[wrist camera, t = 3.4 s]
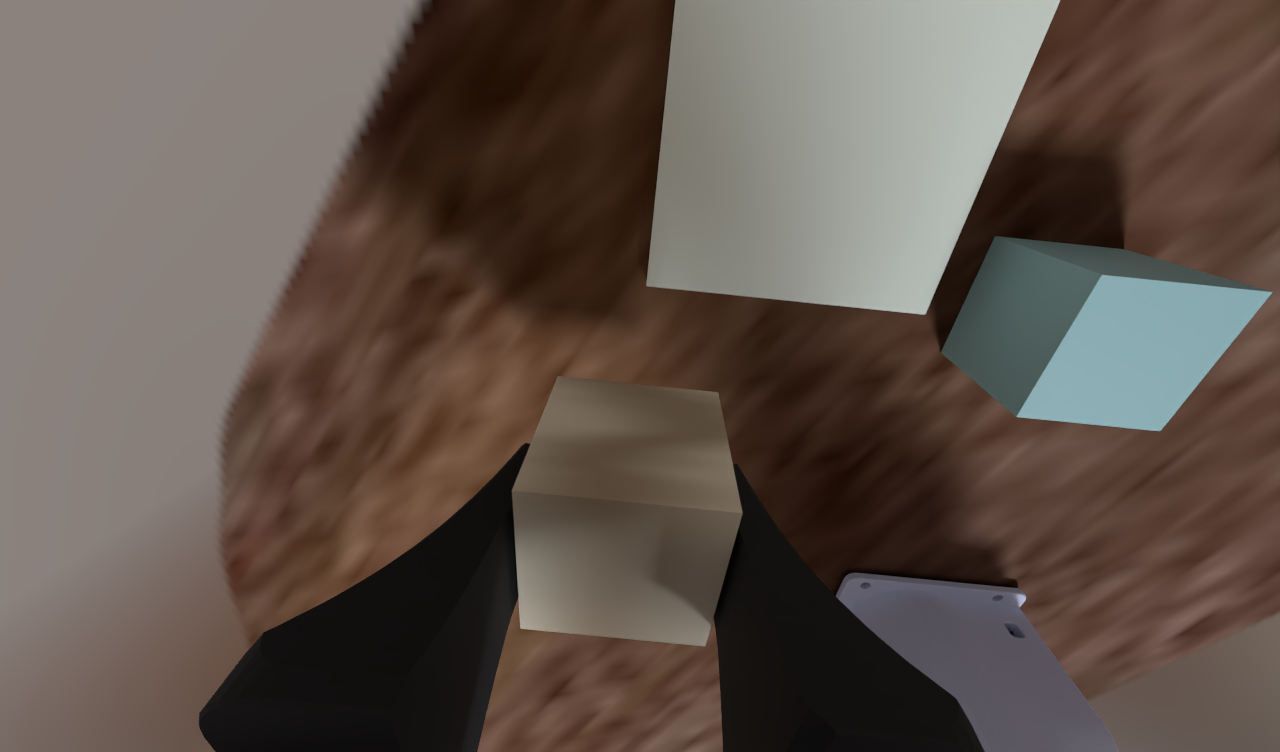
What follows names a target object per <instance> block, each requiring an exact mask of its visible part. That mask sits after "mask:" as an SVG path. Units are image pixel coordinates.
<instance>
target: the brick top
mask: <svg viewBox="0 0 1280 752" xmlns="http://www.w3.org/2000/svg"><path fill="white" fill-rule="evenodd" d="M1271 294H1272V292H1270V291H1267V290H1263V289H1260V288H1256V287H1253V286H1250V285H1246V284H1243V283H1239V282H1236V281H1232V280H1229V279H1225V278H1222V277H1218V276H1215V275H1211V274H1208V273H1205V272H1201V271H1198V270H1194V269H1191V268H1187V267H1184V266H1180V265H1177V264H1173V263H1170V262H1166V261H1163V260H1160V259H1156V258H1153V257H1149V256H1146V255H1142V254H1139V253H1135V252H1132V251H1128V250H1125V249H1117V248H1107V247H1097V246H1087V245H1077V244H1068V243H1058V242H1048V241H1038V240H1028V239H1019V238H1009V237H999V236H995V237H994V239H993V242H992V244H991V246H990V248H989V250H988V252H987V254H986V257H985V259H984V261H983V263H982V265H981V267H980V269H979V272H978V274H977V276H976V278H975V280H974V282H973V284H972V287H971V289H970V291H969V293H968V295H967V297H966V300H965V302H964V304H963V306H962V308H961V310H960V312H959V315H958V317H957V319H956V321H955V323H954V325H953V327H952V330H951V332H950V334H949V336H948V338H947V340H946V342H945V345H944V347H943V349H942V351H941V353H942V354H943V355H944V356H945V357H946V358H948V359H949V360H950V361H951V362H952V363H954V364H955V365H956V366H957V367H958V368H959V369H961V370H962V371H963V372H964V373H965V374H966V375H968V376H969V377H970V378H971V379H972V380H974V381H975V382H976V383H977V384H978V385H979V386H981V387H982V388H983V389H984V390H985V391H986V392H988V393H989V394H990V395H991V396H992V397H994V398H995V399H996V400H997V401H998V402H999V403H1001V404H1002V405H1003V406H1004V407H1005V408H1006V409H1008V410H1009V411H1010V412H1011V413H1012V414H1013V415H1015V416H1016V417H1022V418H1032V419H1042V420H1053V421H1063V422H1073V423H1083V424H1093V425H1103V426H1113V427H1123V428H1133V429H1143V430H1153V431H1161V430H1162V429H1163V427H1164V426H1165V425H1166V424H1167V422H1168V421H1169V420H1170V419H1171V417H1172V416H1173V415H1174V414H1175V412H1176V411H1177V410H1178V409H1179V407H1180V406H1181V405H1182V404H1183V403H1184V401H1185V400H1186V399H1187V398H1188V396H1189V395H1190V394H1191V393H1192V391H1193V390H1194V389H1195V388H1196V386H1197V385H1198V384H1199V383H1200V381H1201V380H1202V379H1203V378H1204V376H1205V375H1206V374H1207V373H1208V372H1209V370H1210V369H1211V368H1212V367H1213V365H1214V364H1215V363H1216V362H1217V360H1218V359H1219V358H1220V357H1221V355H1222V354H1223V353H1224V352H1225V350H1226V349H1227V348H1228V347H1229V346H1230V344H1231V343H1232V342H1233V341H1234V339H1235V338H1236V337H1237V336H1238V334H1239V333H1240V332H1241V331H1242V329H1243V328H1244V327H1245V326H1246V324H1247V323H1248V322H1249V321H1250V320H1251V318H1252V317H1253V316H1254V315H1255V313H1256V312H1257V311H1258V310H1259V308H1260V307H1261V306H1262V305H1263V303H1264V302H1265V301H1266V300H1267V298H1268V297H1269V296H1270V295H1271Z"/></svg>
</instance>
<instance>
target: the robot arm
mask: <svg viewBox="0 0 1280 752" xmlns="http://www.w3.org/2000/svg"><path fill="white" fill-rule="evenodd" d="M529 447H530V444H528V443H525V444H524V445H522V446H521V447H520V448H519V450H518V451H517V452H516V453H515V454H514V455H513V456H512V458H511V459H510V460H509V461H508V462H507V463H506V464H505V465H504V466H503V467H502V469H501V470H500V471H499V472H498V473H497V474H496V475H495V476H494V477H493V478H492V479H491V480H490V481H489V482H488V483H487V484H486V485H485V486H484V487H483V488H482V489H481V490H480V491H479V492H478V493H477V494H476V495H475V496H474V497H473V498H472V499H471V500H469V501H468V502H467V503H466V504H465V505H464V506H463V507H462V508H461V509H459V510H458V511H457V512H456V513H455V514H454V515H453V516H452V517H451V518H449V519H448V520H447V521H446V522H445V523H443V524H442V525H441V526H440V527H439V528H437V529H436V530H435V531H434V532H432V533H431V534H430V535H428V536H427V537H426V538H424V539H423V540H422V541H421V542H419V543H418V544H417V545H415V546H414V547H412V548H411V549H410V550H408V551H407V552H405V553H404V554H402V555H401V556H400V557H398V558H397V559H395V560H394V561H392V562H391V563H389V564H388V565H386V566H385V567H383V568H382V569H380V570H379V571H377V572H376V573H374V574H372V575H371V576H369V577H367V578H366V579H364V580H362V581H361V582H359V583H357V584H356V585H354V586H352V587H351V588H349V589H347V590H346V591H344V592H342V593H340V594H339V595H337V596H335V597H333V598H331V599H330V600H328V601H326V602H324V603H322V604H320V605H318V606H316V607H314V608H312V609H310V610H308V611H306V612H304V613H302V614H301V615H299V616H297V617H295V618H293V619H291V620H289V621H287V622H285V623H283V624H281V625H279V626H277V627H275V628H272V629H270V630H268V631H266V632H264V633H263V634H262V635H261V637H260V638H259V639H258V640H257V641H256V642H255V643H254V645H253V646H252V647H251V648H250V649H249V650H248V651H247V652H246V653H245V655H244V656H243V657H242V659H241V660H240V661H239V662H238V664H237V665H236V666H235V668H234V669H233V670H232V672H231V673H230V674H229V676H228V677H227V678H226V679H225V681H224V682H223V683H222V685H221V686H220V687H219V688H218V690H217V691H216V692H215V694H214V695H213V696H212V698H211V699H210V700H209V702H208V703H207V704H206V705H205V707H204V708H203V709H202V711H201V712H200V714H199V727H200V730H201V732H202V733H203V735H204V737H205V739H206V740H207V741H208V743H209V744H210V745H211V746H212V748H213V749H214V750H215V751H216V752H477V750H478V746H479V741H480V737H481V733H482V729H483V724H484V720H485V716H486V712H487V708H488V703H489V699H490V695H491V691H492V687H493V683H494V679H495V675H496V671H497V667H498V663H499V659H500V655H501V652H502V648H503V644H504V640H505V636H506V632H507V629H508V626H509V622H510V619H511V616H512V613H513V610H514V607H515V604H516V602H517V599H518V581H517V565H516V549H515V533H514V517H513V501H512V489H513V486H514V484H515V481H516V479H517V476H518V474H519V471H520V469H521V467H522V464H523V462H524V459H525V457H526V454H527V452H528V449H529ZM733 468H734V473H735V478H736V483H737V488H738V493H739V498H740V503H741V508H742V513H743V514H742V517H741V521H740V524H739V528H738V531H737V535H736V539H735V542H734V546H733V549H732V553H731V556H730V560H729V564H728V567H727V571H726V574H725V578H724V581H723V585H722V589H721V592H720V596H719V599H718V603H717V606H716V610H715V613H714V622H715V629H716V636H717V645H718V657H719V674H720V691H721V711H722V732H723V752H1119V750H1118V748H1117V746H1116V744H1115V742H1114V740H1113V738H1112V736H1111V735H1110V733H1109V732H1108V730H1107V728H1106V727H1105V725H1104V724H1103V722H1102V721H1101V719H1100V718H1099V717H1098V715H1097V714H1096V712H1095V711H1094V710H1093V708H1092V707H1091V706H1090V704H1089V703H1088V701H1087V700H1086V699H1085V697H1084V696H1083V695H1082V693H1081V692H1080V690H1079V689H1078V688H1077V686H1076V685H1075V684H1074V682H1073V681H1072V679H1071V678H1070V677H1069V675H1068V674H1067V673H1066V671H1065V670H1064V668H1063V667H1062V666H1061V664H1060V663H1059V662H1058V660H1057V659H1056V657H1055V656H1054V655H1053V653H1052V652H1051V651H1050V649H1049V648H1048V646H1047V645H1046V644H1045V642H1044V641H1043V640H1042V638H1041V637H1040V635H1039V634H1038V633H1037V631H1036V630H1035V629H1034V627H1033V626H1032V624H1031V623H1030V622H1029V620H1028V619H1027V618H1026V616H1025V615H1024V613H1023V612H1022V611H1021V609H1020V606H1021V605H1022V604H1023V603H1024V602H1025V600H1026V595H1025V594H1024V593H1023V591H1022V590H1020V589H1018V588H1010V587H1000V586H990V585H979V584H969V583H958V582H948V581H938V580H927V579H917V578H906V577H896V576H886V575H875V574H865V573H850V574H848V575H846V577H845V578H844V580H843V582H842V584H841V586H840V588H839V590H838V592H837V594H836V596H835V595H834V594H833V593H832V592H831V591H830V590H829V589H828V588H827V587H826V586H825V585H824V584H823V583H822V581H821V580H820V579H819V578H818V577H817V576H816V575H815V574H814V573H813V571H812V570H811V569H810V568H809V567H808V566H807V564H806V563H805V562H804V561H803V560H802V558H801V557H800V556H799V555H798V553H797V552H796V551H795V549H794V548H793V547H792V546H791V544H790V543H789V542H788V540H787V539H786V538H785V536H784V535H783V534H782V532H781V531H780V530H779V528H778V527H777V525H776V524H775V523H774V521H773V520H772V518H771V517H770V515H769V514H768V512H767V511H766V510H765V508H764V507H763V505H762V503H761V502H760V500H759V499H758V497H757V496H756V494H755V492H754V491H753V489H752V488H751V486H750V484H749V483H748V481H747V479H746V478H745V476H744V474H743V473H742V471H741V469H740V468H739V467H738V465H737V464H733Z"/></svg>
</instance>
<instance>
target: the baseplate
mask: <svg viewBox="0 0 1280 752" xmlns="http://www.w3.org/2000/svg"><path fill="white" fill-rule="evenodd" d="M1059 2H1060V0H675V9H674V18H673V28H672V38H671V48H670V58H669V67H668V77H667V87H666V97H665V107H664V116H663V126H662V136H661V146H660V155H659V165H658V175H657V185H656V195H655V204H654V214H653V224H652V234H651V243H650V253H649V263H648V273H647V283H646V286H649V287H659V288H669V289H679V290H689V291H698V292H708V293H718V294H728V295H738V296H747V297H757V298H767V299H777V300H786V301H796V302H806V303H816V304H826V305H835V306H845V307H855V308H865V309H875V310H884V311H894V312H904V313H914V314H924V315H925V314H926V312H927V309H928V307H929V305H930V302H931V300H932V298H933V295H934V293H935V291H936V288H937V286H938V284H939V281H940V279H941V277H942V274H943V272H944V270H945V267H946V265H947V263H948V260H949V258H950V256H951V253H952V251H953V249H954V246H955V244H956V242H957V240H958V237H959V235H960V233H961V230H962V228H963V226H964V223H965V221H966V219H967V216H968V214H969V212H970V209H971V207H972V205H973V202H974V200H975V198H976V195H977V193H978V191H979V188H980V186H981V184H982V181H983V179H984V177H985V174H986V172H987V170H988V167H989V165H990V163H991V160H992V158H993V156H994V153H995V151H996V149H997V146H998V144H999V142H1000V139H1001V137H1002V135H1003V132H1004V130H1005V128H1006V125H1007V123H1008V121H1009V118H1010V116H1011V114H1012V111H1013V109H1014V107H1015V104H1016V102H1017V100H1018V97H1019V95H1020V93H1021V90H1022V88H1023V86H1024V83H1025V81H1026V79H1027V77H1028V74H1029V72H1030V70H1031V67H1032V65H1033V63H1034V60H1035V58H1036V56H1037V53H1038V51H1039V49H1040V46H1041V44H1042V42H1043V39H1044V37H1045V35H1046V32H1047V30H1048V28H1049V25H1050V23H1051V21H1052V18H1053V16H1054V14H1055V11H1056V9H1057V7H1058V4H1059Z"/></svg>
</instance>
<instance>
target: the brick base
mask: <svg viewBox="0 0 1280 752" xmlns="http://www.w3.org/2000/svg"><path fill="white" fill-rule="evenodd" d="M512 501H513V517H514V533H515V549H516V565H517V581H518V597H519V613H520V629H530V630H541V631H551V632H562V633H572V634H583V635H593V636H603V637H614V638H624V639H635V640H645V641H655V642H666V643H676V644H687V645H697V646H706V642H707V638H708V635H709V631H710V628H711V624H712V621H713V617H714V613H715V610H716V606H717V603H718V599H719V596H720V592H721V589H722V585H723V581H724V578H725V574H726V571H727V567H728V564H729V560H730V556H731V553H732V549H733V546H734V542H735V539H736V535H737V531H738V528H739V524H740V521H741V517H742V514H743V513H742V508H741V503H740V498H739V493H738V488H737V483H736V478H735V473H734V468H733V463H732V458H731V453H730V448H729V443H728V439H727V434H726V429H725V424H724V419H723V414H722V409H721V404H720V399H719V394H718V392H710V391H700V390H690V389H680V388H670V387H660V386H650V385H640V384H630V383H620V382H610V381H600V380H590V379H580V378H570V377H560V376H558V377H557V380H556V382H555V385H554V387H553V390H552V392H551V395H550V397H549V400H548V402H547V404H546V407H545V409H544V412H543V414H542V417H541V419H540V422H539V424H538V427H537V429H536V432H535V434H534V437H533V439H532V442H531V444H530V447H529V449H528V452H527V454H526V457H525V459H524V462H523V464H522V467H521V469H520V471H519V474H518V476H517V479H516V481H515V484H514V486H513V489H512Z"/></svg>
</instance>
